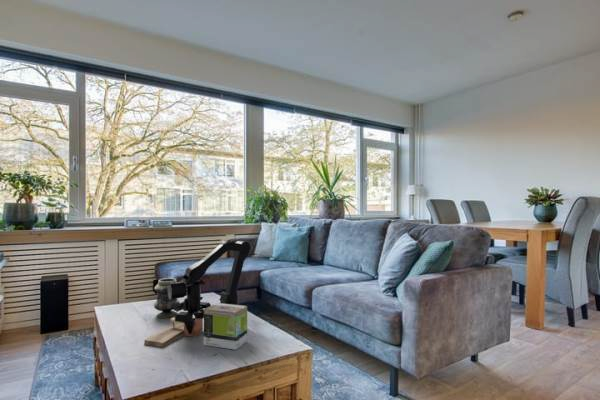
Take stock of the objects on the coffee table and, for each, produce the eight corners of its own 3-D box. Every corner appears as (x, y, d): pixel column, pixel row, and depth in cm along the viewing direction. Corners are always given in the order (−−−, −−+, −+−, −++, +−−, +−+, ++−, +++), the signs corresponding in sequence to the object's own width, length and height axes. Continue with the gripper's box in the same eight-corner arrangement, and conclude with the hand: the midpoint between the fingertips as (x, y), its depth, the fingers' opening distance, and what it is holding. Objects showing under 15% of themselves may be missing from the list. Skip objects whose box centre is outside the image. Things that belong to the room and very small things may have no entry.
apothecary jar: (184, 314, 171) (184, 278, 172) (163, 321, 161) (164, 283, 161) (169, 309, 178) (169, 276, 178) (148, 316, 168) (149, 280, 168)
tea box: (248, 340, 139) (248, 305, 139) (235, 351, 130) (235, 312, 130) (216, 336, 144) (216, 301, 144) (202, 345, 134) (202, 308, 134)
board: (194, 328, 152) (194, 324, 152) (163, 347, 132) (163, 342, 132) (177, 326, 155) (177, 322, 155) (144, 344, 135) (144, 339, 135)
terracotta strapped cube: (202, 332, 148) (202, 318, 148) (196, 336, 143) (196, 322, 143) (175, 328, 151) (175, 315, 152) (168, 333, 147) (168, 319, 147)
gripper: (190, 288, 157) (190, 322, 157) (163, 300, 139) (163, 337, 139) (211, 290, 154) (211, 324, 154) (186, 302, 136) (186, 340, 136)
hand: (193, 331), depth 146 cm, fingers closed on terracotta strapped cube, 5 cm apart
